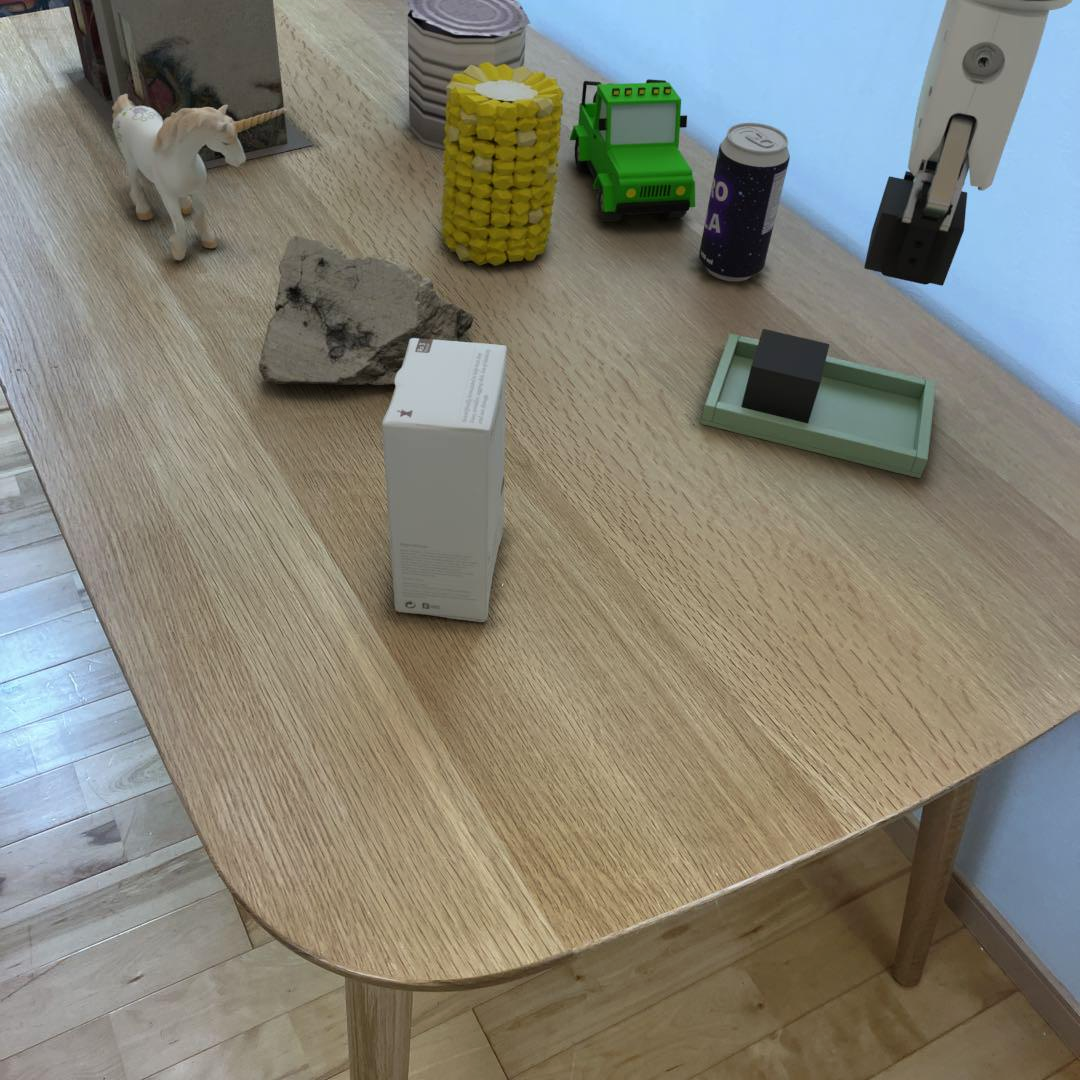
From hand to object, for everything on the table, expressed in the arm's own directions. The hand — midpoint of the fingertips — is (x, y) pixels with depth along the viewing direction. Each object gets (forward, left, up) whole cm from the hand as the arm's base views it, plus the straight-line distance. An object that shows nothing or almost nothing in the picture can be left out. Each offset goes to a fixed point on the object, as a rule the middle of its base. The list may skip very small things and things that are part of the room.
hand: (909, 252), depth 72 cm
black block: (+5, -1, -14) cm, 15 cm away
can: (+42, -33, -15) cm, 56 cm away
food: (+32, -14, -15) cm, 38 cm away
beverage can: (+13, -18, -15) cm, 26 cm away
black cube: (0, 0, 0) cm, 0 cm away
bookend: (+69, -25, -15) cm, 75 cm away
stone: (+36, +5, -15) cm, 40 cm away
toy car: (+25, -28, -15) cm, 40 cm away
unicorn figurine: (+56, -6, -15) cm, 58 cm away
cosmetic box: (+22, +24, -15) cm, 36 cm away
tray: (+2, -1, -15) cm, 15 cm away
